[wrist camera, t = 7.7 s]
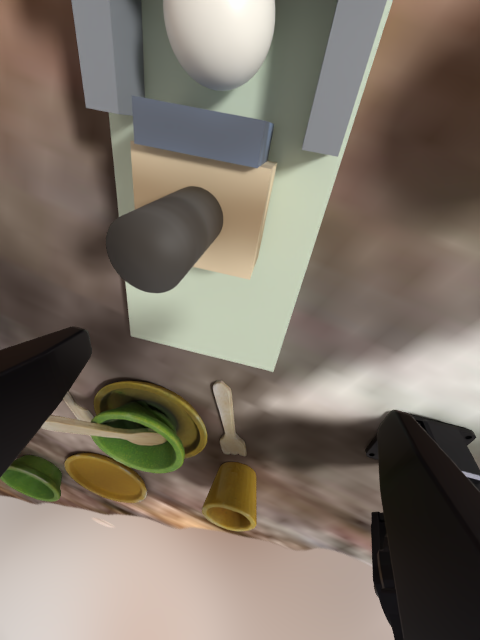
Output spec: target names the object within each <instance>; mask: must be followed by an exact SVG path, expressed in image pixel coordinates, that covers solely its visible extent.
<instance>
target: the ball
mask: <svg viewBox="0 0 480 640" xmlns="http://www.w3.org/2000/svg"><path fill="white" fill-rule="evenodd" d="M163 13H164V21H165V26H166V31H167V35H168V39H169V42H170V45H171V47H172V49H173V52H174V54H175V56H176V58H177V59H178V61H179V63H180V64H181V66H182V67H183V69H184V70H185V71H186V72H187V73H188V75H189V76H190V77H191V78H193V79H194V80H195V81H196V82H197V83H199V84H201V85H202V86H204V87H206V88H209V89H212V90H216V91H228V90H232V89H236V88H238V87H240V86H242V85H244V84H245V83H247V82H248V81H249V80H250V79H251V78H252V77H253V76H254V75H255V74H256V73H257V71H258V70H259V69H260V67H261V66H262V64H263V62H264V60H265V58H266V56H267V53H268V51H269V48H270V45H271V42H272V38H273V33H274V26H275V0H163Z"/></svg>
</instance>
